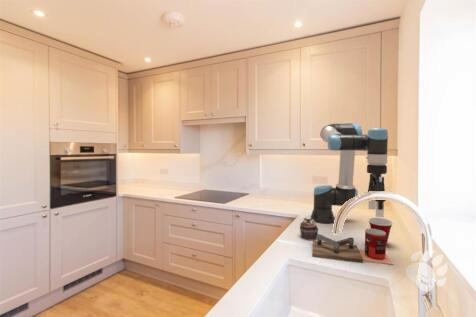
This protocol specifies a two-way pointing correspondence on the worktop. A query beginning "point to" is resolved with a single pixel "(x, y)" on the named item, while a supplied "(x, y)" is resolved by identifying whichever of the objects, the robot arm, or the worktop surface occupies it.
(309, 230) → the cupcake
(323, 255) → the wire board
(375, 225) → the plastic cup
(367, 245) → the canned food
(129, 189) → the worktop surface
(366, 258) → the mat
